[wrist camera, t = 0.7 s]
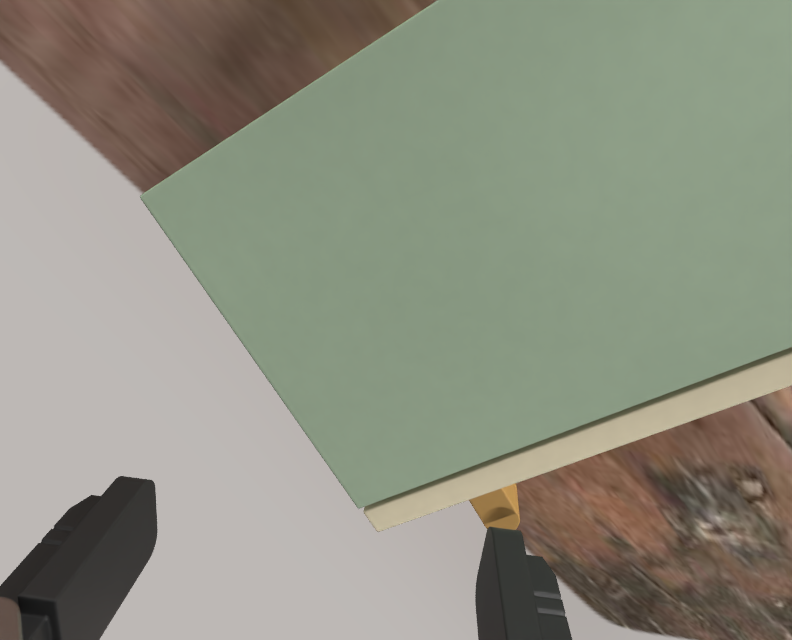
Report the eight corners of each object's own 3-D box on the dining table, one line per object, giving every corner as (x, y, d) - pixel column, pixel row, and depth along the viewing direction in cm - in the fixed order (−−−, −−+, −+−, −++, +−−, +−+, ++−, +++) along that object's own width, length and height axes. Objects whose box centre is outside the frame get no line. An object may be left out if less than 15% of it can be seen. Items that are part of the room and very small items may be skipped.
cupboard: (687, 168, 32) (957, 285, 14) (414, 301, 37) (358, 509, 19) (604, -47, 28) (822, -253, 11) (316, 133, 34) (138, 196, 16)
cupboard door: (729, 275, 34) (1006, 492, 16) (463, 387, 39) (454, 643, 21) (690, 173, 32) (955, 292, 14) (416, 305, 37) (362, 512, 19)
